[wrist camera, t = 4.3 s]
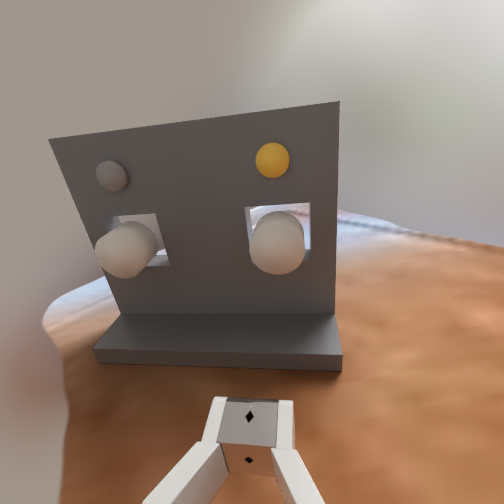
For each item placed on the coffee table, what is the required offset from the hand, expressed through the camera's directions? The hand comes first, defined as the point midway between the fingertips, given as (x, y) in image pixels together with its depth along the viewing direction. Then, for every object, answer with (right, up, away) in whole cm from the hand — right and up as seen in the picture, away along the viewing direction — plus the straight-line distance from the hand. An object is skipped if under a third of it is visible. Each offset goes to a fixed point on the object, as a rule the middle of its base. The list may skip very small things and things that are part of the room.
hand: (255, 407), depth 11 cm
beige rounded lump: (+2, +5, +14) cm, 15 cm away
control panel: (-4, -3, +19) cm, 20 cm away
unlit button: (-12, +4, +16) cm, 20 cm away
